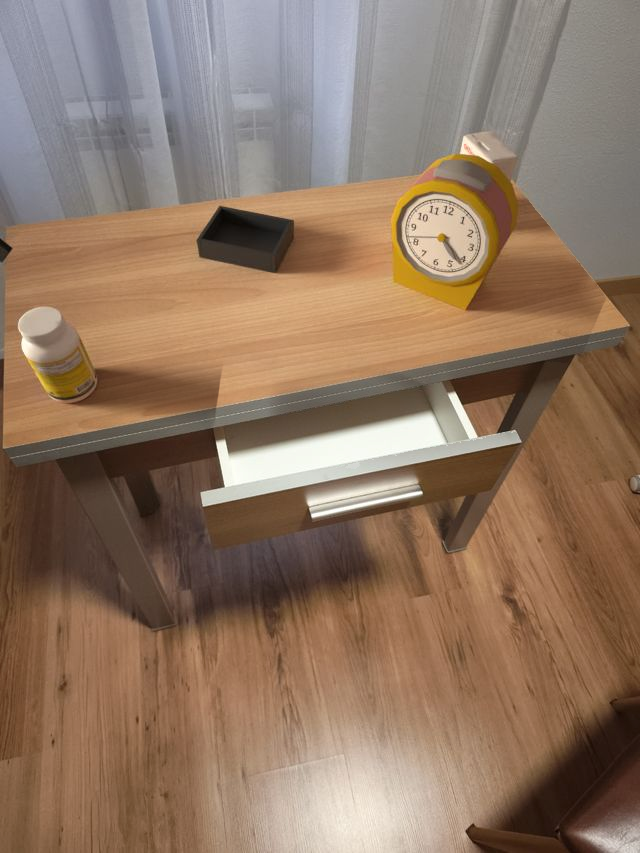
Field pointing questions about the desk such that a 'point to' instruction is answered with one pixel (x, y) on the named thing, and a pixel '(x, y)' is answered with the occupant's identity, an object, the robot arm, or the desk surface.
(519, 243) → the desk surface
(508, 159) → the ink box
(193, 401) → the desk surface
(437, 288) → the alarm clock
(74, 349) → the pill bottle
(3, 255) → the robot arm
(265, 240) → the bin
